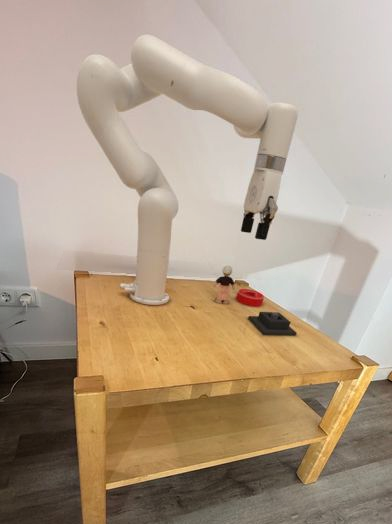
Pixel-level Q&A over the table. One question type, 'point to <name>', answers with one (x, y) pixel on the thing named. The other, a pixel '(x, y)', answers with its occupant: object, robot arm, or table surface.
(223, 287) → the grandmother figurine
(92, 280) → the table surface
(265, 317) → the top pad
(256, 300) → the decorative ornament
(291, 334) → the base pad
